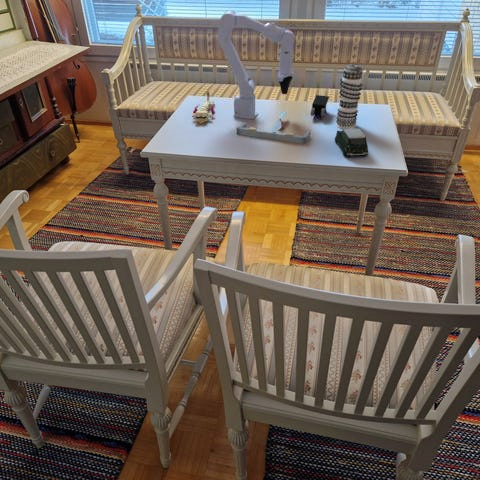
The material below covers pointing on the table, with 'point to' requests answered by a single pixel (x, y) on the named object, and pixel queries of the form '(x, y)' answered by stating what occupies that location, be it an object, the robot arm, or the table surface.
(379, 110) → the table surface
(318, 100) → the figurine character
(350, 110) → the model tower building
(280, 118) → the propeller
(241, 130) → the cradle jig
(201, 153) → the table surface
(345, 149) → the miniature car
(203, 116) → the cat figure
